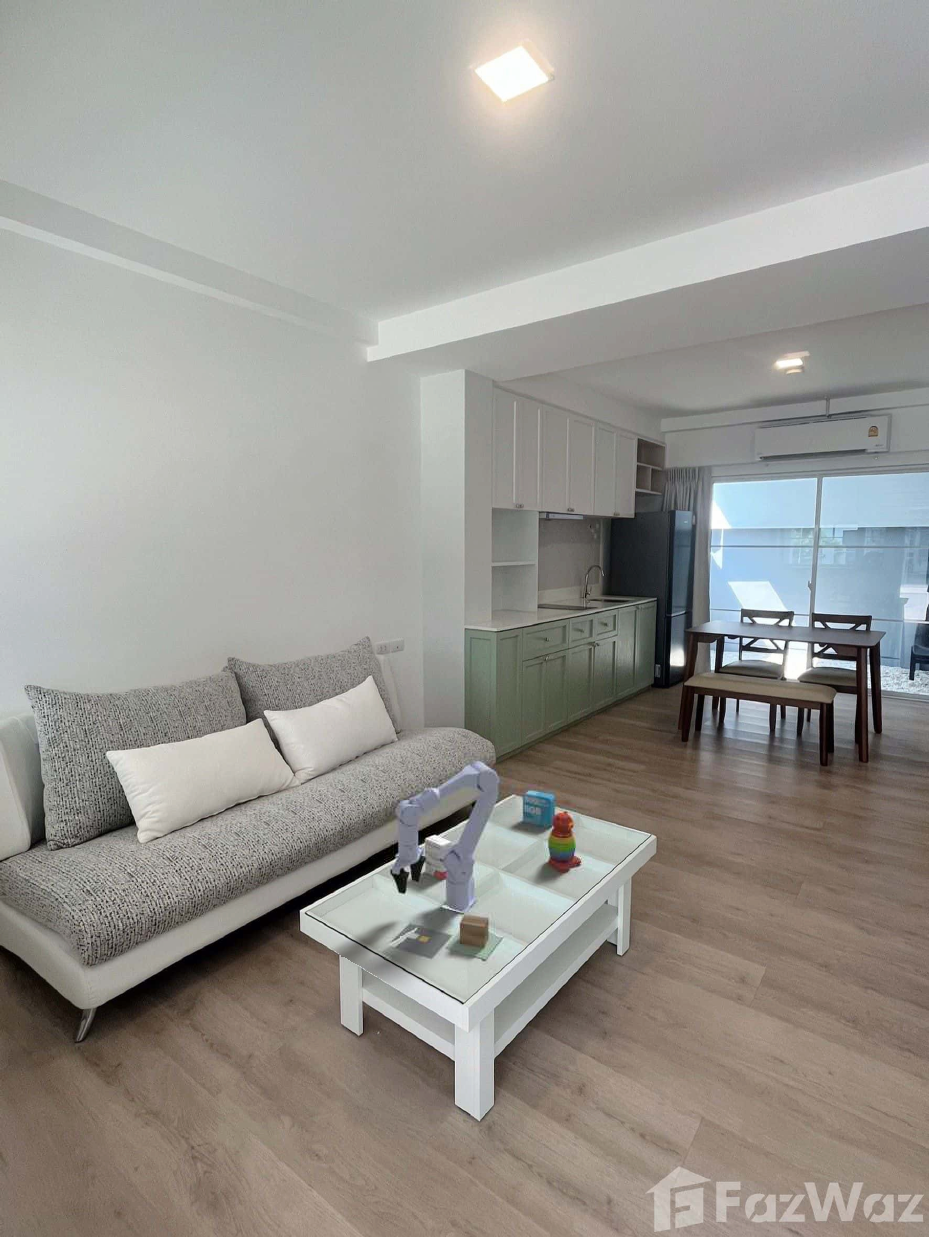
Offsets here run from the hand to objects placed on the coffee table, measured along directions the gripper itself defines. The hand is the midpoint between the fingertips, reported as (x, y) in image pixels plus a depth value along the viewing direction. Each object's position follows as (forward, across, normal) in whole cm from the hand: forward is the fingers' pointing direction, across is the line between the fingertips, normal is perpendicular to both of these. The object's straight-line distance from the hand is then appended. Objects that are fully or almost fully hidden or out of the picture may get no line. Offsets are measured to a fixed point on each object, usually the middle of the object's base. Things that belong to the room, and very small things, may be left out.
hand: (408, 886), depth 195 cm
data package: (+10, -80, +11) cm, 81 cm away
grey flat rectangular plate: (+9, +9, +9) cm, 16 cm away
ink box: (+10, -27, -5) cm, 29 cm away
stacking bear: (+10, -52, +30) cm, 61 cm away
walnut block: (+9, +3, +23) cm, 25 cm away
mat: (+9, +3, +23) cm, 25 cm away
